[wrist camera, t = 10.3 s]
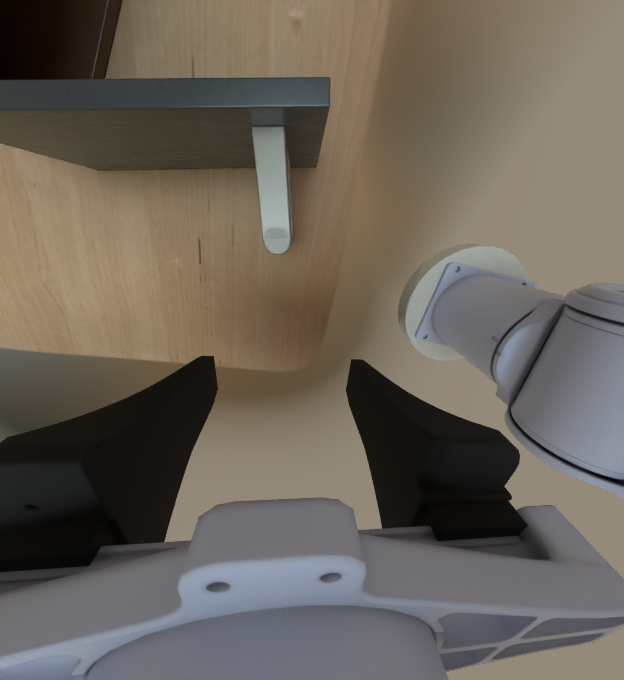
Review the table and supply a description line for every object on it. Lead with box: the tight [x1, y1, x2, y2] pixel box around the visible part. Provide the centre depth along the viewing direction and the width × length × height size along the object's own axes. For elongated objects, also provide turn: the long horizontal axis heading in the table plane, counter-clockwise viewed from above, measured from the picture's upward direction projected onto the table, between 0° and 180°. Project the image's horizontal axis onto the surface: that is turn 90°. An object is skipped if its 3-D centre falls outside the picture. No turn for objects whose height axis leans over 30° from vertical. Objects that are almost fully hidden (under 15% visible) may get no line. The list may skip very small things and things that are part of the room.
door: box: [0, 77, 330, 255], centre depth 13 cm, size 6×16×9 cm, turn 91°
